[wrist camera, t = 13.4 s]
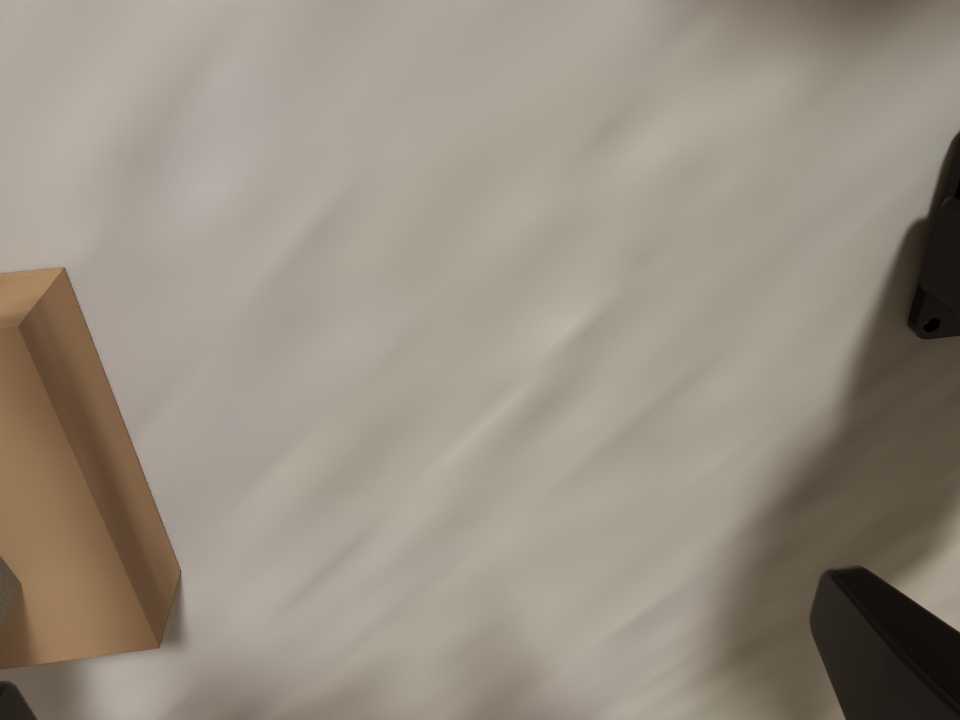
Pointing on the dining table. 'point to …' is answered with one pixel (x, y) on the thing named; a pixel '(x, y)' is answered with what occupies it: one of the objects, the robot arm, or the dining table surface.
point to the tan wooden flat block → (71, 491)
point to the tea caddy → (7, 588)
